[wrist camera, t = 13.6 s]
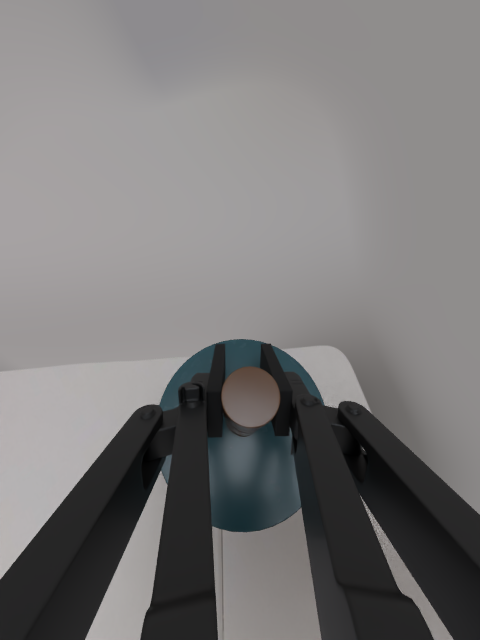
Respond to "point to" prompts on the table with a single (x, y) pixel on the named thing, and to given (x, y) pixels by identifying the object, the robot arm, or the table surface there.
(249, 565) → the table surface
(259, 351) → the lid
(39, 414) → the table surface
